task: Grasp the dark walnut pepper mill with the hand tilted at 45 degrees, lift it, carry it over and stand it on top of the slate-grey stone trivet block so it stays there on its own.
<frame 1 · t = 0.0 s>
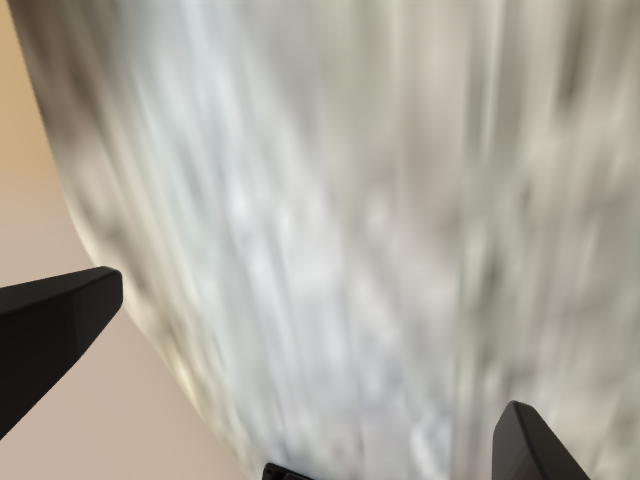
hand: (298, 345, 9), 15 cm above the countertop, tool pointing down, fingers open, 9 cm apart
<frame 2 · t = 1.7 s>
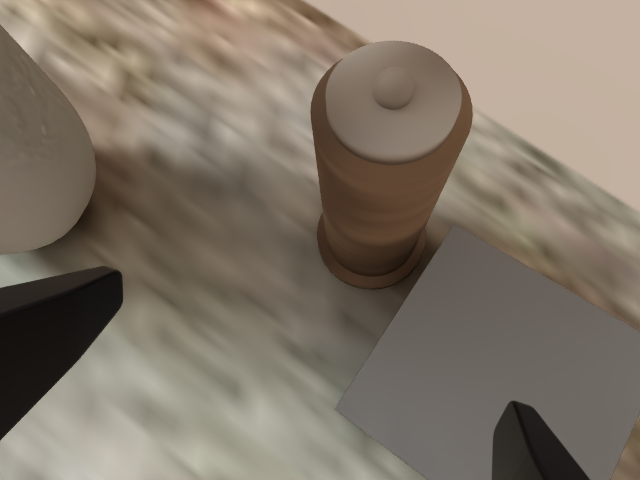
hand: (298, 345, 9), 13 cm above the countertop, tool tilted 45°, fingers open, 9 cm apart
pepper mill: (370, 237, 24), on the countertop
grey bottle: (51, 201, 27), on the countertop
slate block: (474, 380, 21), on the countertop
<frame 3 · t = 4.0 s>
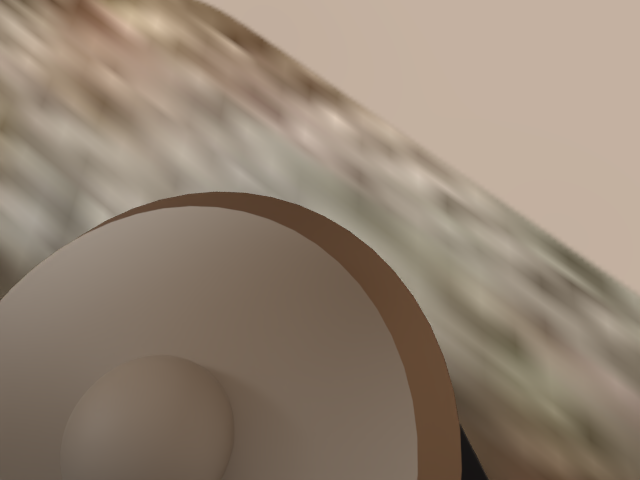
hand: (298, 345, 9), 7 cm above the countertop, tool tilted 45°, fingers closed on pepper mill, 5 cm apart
pepper mill: (305, 402, 15), on the countertop, touching gripper
when the fingers open (11 cm above the countertop, at t = 7.2 s): pepper mill stays where it is, resting on slate block.
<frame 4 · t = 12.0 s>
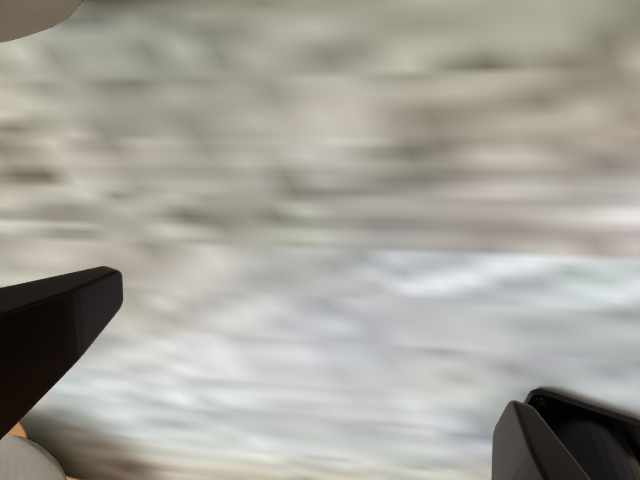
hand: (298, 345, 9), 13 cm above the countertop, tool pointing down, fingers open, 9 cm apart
cereal bowl: (35, 462, 41), on the countertop
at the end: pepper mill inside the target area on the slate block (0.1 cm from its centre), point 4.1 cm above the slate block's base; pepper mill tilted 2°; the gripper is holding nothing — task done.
